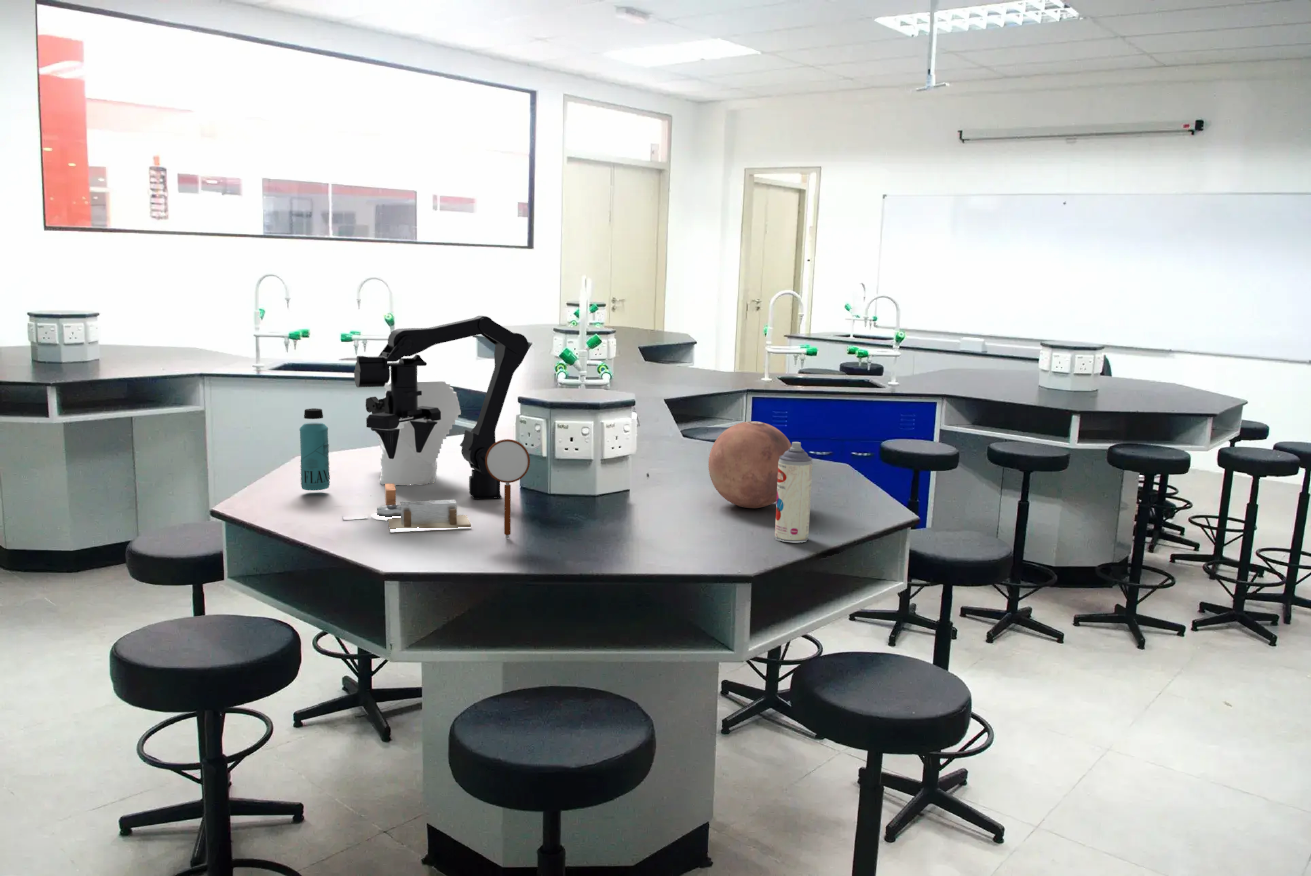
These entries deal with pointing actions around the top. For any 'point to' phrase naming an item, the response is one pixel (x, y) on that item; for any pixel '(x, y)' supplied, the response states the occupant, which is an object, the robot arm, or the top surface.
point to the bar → (428, 511)
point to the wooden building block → (389, 503)
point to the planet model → (747, 463)
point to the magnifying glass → (507, 470)
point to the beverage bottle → (314, 452)
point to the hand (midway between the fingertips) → (405, 455)
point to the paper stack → (406, 460)
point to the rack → (454, 523)
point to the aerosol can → (793, 494)
